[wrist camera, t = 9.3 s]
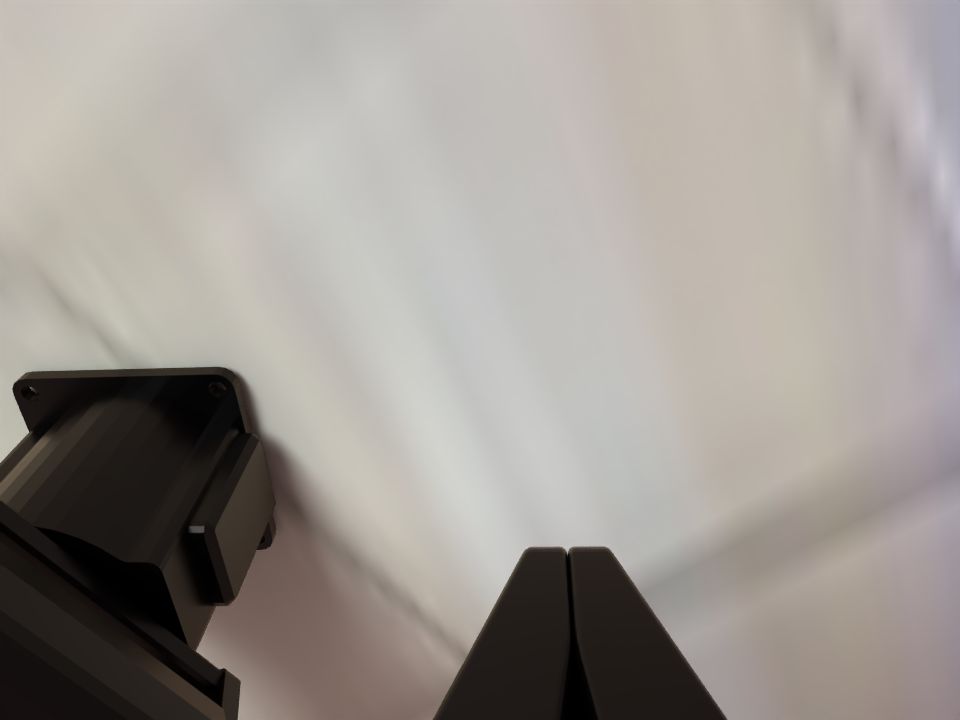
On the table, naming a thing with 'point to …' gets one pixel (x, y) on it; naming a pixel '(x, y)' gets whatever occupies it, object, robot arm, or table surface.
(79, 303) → the table surface
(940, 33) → the table surface
